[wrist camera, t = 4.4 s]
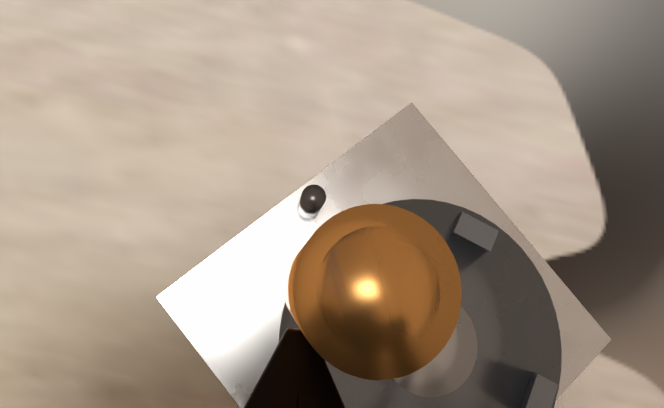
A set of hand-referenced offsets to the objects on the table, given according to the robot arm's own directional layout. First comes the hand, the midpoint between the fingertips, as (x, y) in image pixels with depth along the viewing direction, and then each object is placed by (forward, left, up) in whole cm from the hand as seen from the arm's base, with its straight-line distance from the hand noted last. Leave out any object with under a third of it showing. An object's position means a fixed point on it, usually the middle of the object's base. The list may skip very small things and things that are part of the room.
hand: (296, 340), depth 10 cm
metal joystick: (-4, -4, -9) cm, 11 cm away
